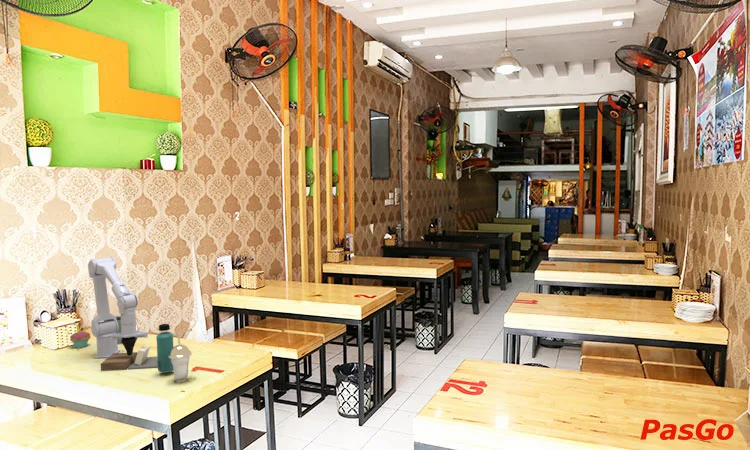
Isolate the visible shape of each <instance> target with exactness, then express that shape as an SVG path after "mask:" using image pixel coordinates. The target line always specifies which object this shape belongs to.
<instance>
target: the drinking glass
mask: <svg viewBox="0 0 750 450" xmlns="http://www.w3.org/2000/svg"><path fill="white" fill-rule="evenodd" d="M115 316H116V315H115ZM116 319H117V322H118V325H119V328H118V331H117V332H116V333H121V315H118V316H116ZM104 321H108V320H104ZM121 340H122V339H117V346H119V345H123V344H122V343H121Z"/></svg>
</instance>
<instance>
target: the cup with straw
mask: <svg viewBox="0 0 750 450" xmlns="http://www.w3.org/2000/svg"><path fill="white" fill-rule="evenodd" d="M187 332H193V329H184V330H179V331H178V333H177V344H175V346H174V345H173V348H172V350H171V352H170V354H169V356H168V357H169V358H171V363H172V367H173V371H172V372H173V377H174V382H175V383H183V382H186V381H188V377H189V376H188V375H189V362H190V356H191V357H192V351H191V350H190V349H189V347H188V346H186V345H185V344H181V334H182V333H187Z"/></svg>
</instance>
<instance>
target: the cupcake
mask: <svg viewBox="0 0 750 450" xmlns="http://www.w3.org/2000/svg"><path fill="white" fill-rule="evenodd" d="M69 338H70V339H69V340H70V342H71V343H72V344H73V346H74V347H75V349H81V348H85V347H87V345H88V342H89V340H90V339H91V333H89V332H87V331H84V330H83V331H80V328H79V324H78V323H76V332H74V333H73V334H71V335H70V337H69Z"/></svg>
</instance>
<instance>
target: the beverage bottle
mask: <svg viewBox="0 0 750 450" xmlns="http://www.w3.org/2000/svg"><path fill="white" fill-rule="evenodd" d="M170 329H171V328H170V324H169V323H162V324H159V325H158V331H159V333H158V334H157V335H156V337H155V338H156V352H157V354H156V355H157V356H156V357H158V360H157V362H158V364H157V365H158V368H157V371H158V372H159V373H169V372H173V367H172V363H171V358H169V357H168V356H169V354H170V352H171V350H172V348H173V347H174V334H173V333H172V332H171V331H169V330H170Z"/></svg>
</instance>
